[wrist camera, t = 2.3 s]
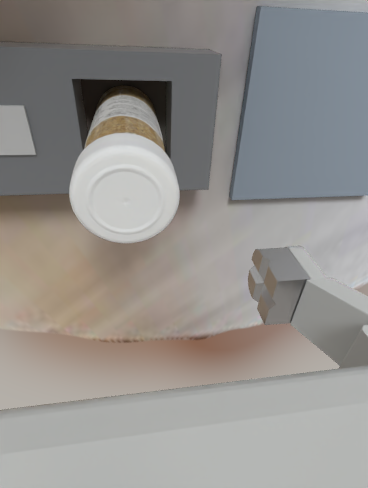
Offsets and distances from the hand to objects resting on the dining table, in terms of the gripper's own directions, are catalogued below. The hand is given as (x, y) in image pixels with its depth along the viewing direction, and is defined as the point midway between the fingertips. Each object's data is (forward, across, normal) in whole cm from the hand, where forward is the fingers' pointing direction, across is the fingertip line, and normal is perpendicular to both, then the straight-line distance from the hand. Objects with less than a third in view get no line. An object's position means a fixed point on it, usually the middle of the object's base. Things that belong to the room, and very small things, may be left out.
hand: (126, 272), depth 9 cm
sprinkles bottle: (+18, 0, 0) cm, 18 cm away
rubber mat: (+17, -16, 0) cm, 24 cm away
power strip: (+17, +6, 0) cm, 18 cm away
